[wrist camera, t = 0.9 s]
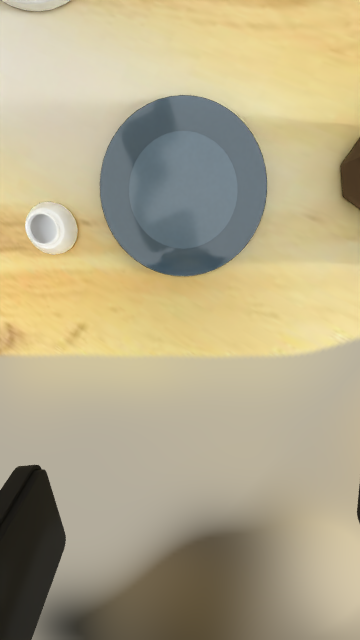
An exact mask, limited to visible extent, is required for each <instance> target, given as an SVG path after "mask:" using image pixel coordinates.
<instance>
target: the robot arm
mask: <svg viewBox="0 0 360 640" xmlns="http://www.w3.org/2000/svg"><path fill="white" fill-rule="evenodd" d="M1 1H3V2H5V3H7V4H8V5H10V6H13V7H16V8H19V9H23V10H29V11H44V10H50V9H54V8H56V7H59V6H61V5H64V4H66V3H67V2H68V1H70V0H1ZM357 515H358V520H359V522H360V486H359V497H358V508H357ZM65 538H66V537H65V532H64V528H63V525H62V522H61V518H60V515H59V512H58V509H57V505H56V502H55V499H54V495H53V492H52V489H51V486H50V482H49V479H48V476H47V473H46V471H45V470H42V469H41V467H40V466H39V465H29V466H19V467H17V468H16V469H15V470H14V471H13V472H12V474H11V475H10V477H9V478H8V480H7V481H6V483H5V484H4V486H3V487H2V489H1V490H0V640H31V639H32V636H33V634H34V631H35V628H36V625H37V623H38V620H39V617H40V614H41V611H42V609H43V606H44V603H45V600H46V598H47V595H48V592H49V589H50V587H51V584H52V581H53V578H54V575H55V573H56V570H57V567H58V564H59V562H60V559H61V556H62V553H63V550H64V547H65V541H66V539H65Z"/></svg>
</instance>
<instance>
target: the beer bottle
mask: <svg viewBox="0 0 360 640" xmlns="http://www.w3.org/2000/svg"><path fill="white" fill-rule="evenodd" d="M341 174H342V187H343V197H344V198H345V199H347V200H348V201H350V202H351V203H352V204H354V205H355V206H356V207H358V208H359V209H360V139H359V140H358V142H357V143H356V144H355V146H354V147H353V149H352V150H351V152H350V153H349V154H348V156H347V157H346V159H345V160H344V162H343V163H342V165H341Z"/></svg>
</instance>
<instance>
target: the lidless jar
mask: <svg viewBox="0 0 360 640" xmlns="http://www.w3.org/2000/svg"><path fill="white" fill-rule="evenodd" d="M25 229H26V233H27V235H28V237H29V239H30V240H31V242H32V243H33V244H34V246H35V247H37V248H38V249H39V250H41V251H42V252H44V253H48V254H53V255H54V254H61V253H64V252H66V251H67V250H69V249H70V248H72V246H73V245H74V243H75V241H76V239H77V232H78V229H77V224H76V220H75V218H74V217H73V215H72V214H71V212H70V211H69V210H68V209H66V208H65V207H64V206H62V205H61V204H57V203H54V202H43V203H39V204H37V205H36V206H34V207H33V208H32V209H31V210H30V212H29V214H28V216H27V218H26V223H25Z"/></svg>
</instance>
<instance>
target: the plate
mask: <svg viewBox="0 0 360 640" xmlns="http://www.w3.org/2000/svg"><path fill="white" fill-rule="evenodd" d="M266 195H267V176H266V168H265V164H264V160H263V156H262V153H261V151H260V148H259V146H258V143H257V142H256V140H255V138H254V136H253V134H252V133H251V132H250V130H249V129H248V127H247V126H246V125H245V124H244V123H243V122H242V121H241V119H240V118H239V117H238V116H237V115H235V114H234V113H233V112H231V111H230V110H229V109H227V108H226V107H224V106H222V105H220V104H219V103H217V102H214V101H212V100H209V99H206V98H202V97H197V96H189V95H178V96H169V97H166V98H162V99H158V100H156V101H153V102H151V103H149V104H147V105H145V106H144V107H142V108H140V109H139V110H137V111H136V112H135V113H134V114H132V115H131V116H130V117H129V118H128V119H127V120H126V121H125V122H124V123H123V124H122V125H121V126H120V128H119V129H118V131H117V132H116V134H115V135H114V136H113V138H112V140H111V142H110V144H109V146H108V148H107V151H106V154H105V157H104V160H103V164H102V169H101V176H100V197H101V203H102V208H103V212H104V216H105V219H106V221H107V223H108V226H109V228H110V230H111V232H112V234H113V235H114V237H115V239H116V240H117V241H118V243H119V244H120V246H121V247H122V248H123V249H124V250H125V251H126V252H127V253H128V254H129V255H130V256H131V257H132V258H134V259H135V260H136V261H137V262H139V263H141V264H142V265H144V266H145V267H147V268H150V269H152V270H154V271H157V272H160V273H163V274H167V275H173V276H194V275H199V274H204V273H207V272H209V271H212V270H215V269H217V268H219V267H221V266H223V265H224V264H226V263H227V262H229V261H230V260H232V259H233V258H234V257H235V256H236V255H237V254H239V253H240V252H241V250H242V249H243V248H244V247H245V246H246V245H247V244H248V242H249V241H250V239H251V238H252V236H253V235H254V233H255V231H256V229H257V227H258V225H259V223H260V220H261V217H262V215H263V211H264V207H265V203H266Z"/></svg>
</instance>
